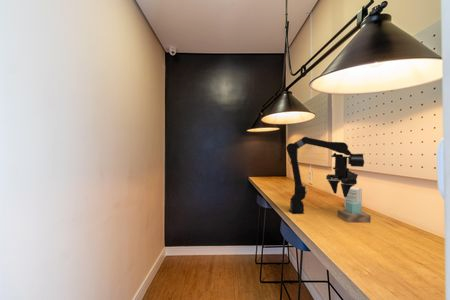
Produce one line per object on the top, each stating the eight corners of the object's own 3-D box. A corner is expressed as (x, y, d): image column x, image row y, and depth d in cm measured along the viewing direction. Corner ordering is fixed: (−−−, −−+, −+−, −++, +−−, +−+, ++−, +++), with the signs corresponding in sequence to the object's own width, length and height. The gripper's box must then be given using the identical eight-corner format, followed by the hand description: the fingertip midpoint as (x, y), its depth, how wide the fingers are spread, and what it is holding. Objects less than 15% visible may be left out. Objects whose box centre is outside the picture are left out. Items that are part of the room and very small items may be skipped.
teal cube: (352, 214, 112) (352, 204, 112) (345, 211, 116) (345, 201, 117) (361, 213, 112) (361, 203, 112) (354, 211, 117) (354, 201, 117)
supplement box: (349, 206, 142) (349, 186, 142) (362, 208, 136) (362, 188, 136) (344, 208, 137) (344, 187, 137) (357, 211, 131) (357, 189, 131)
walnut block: (347, 223, 110) (347, 215, 110) (337, 217, 120) (337, 209, 120) (370, 223, 110) (370, 215, 110) (358, 217, 120) (358, 210, 120)
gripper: (367, 167, 110) (366, 199, 110) (344, 165, 129) (344, 191, 129) (345, 167, 110) (345, 199, 110) (326, 164, 128) (325, 191, 128)
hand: (340, 195), depth 119 cm, fingers open, 9 cm apart
